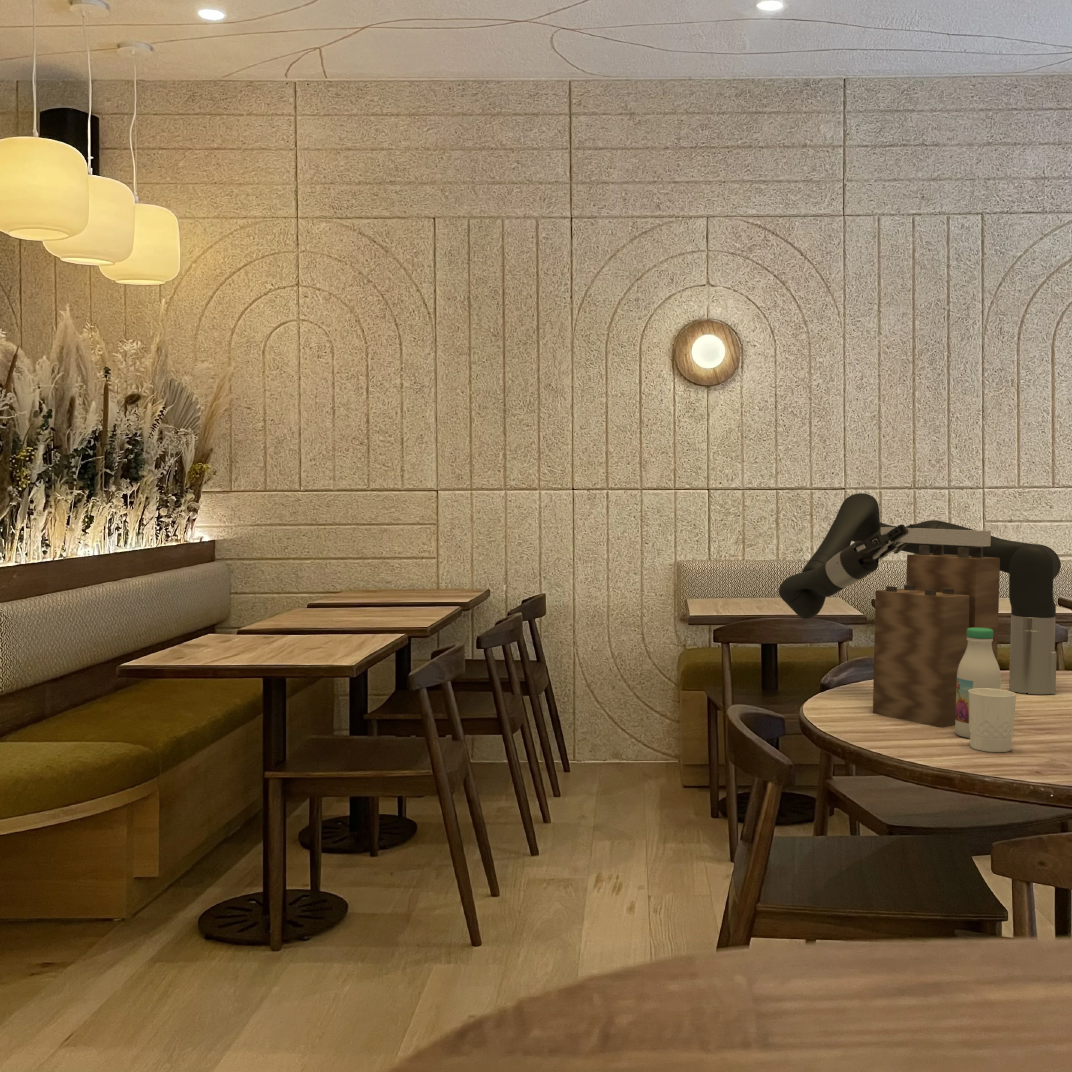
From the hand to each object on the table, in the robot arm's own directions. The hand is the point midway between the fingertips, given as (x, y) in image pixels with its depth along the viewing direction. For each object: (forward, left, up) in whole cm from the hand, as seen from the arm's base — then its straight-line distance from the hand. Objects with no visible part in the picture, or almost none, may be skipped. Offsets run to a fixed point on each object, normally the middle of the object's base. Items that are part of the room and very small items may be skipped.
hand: (909, 528), depth 240 cm
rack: (-5, +11, -37) cm, 39 cm away
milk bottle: (-11, +29, -38) cm, 48 cm away
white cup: (-12, +39, -38) cm, 55 cm away
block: (-4, +4, -3) cm, 7 cm away
